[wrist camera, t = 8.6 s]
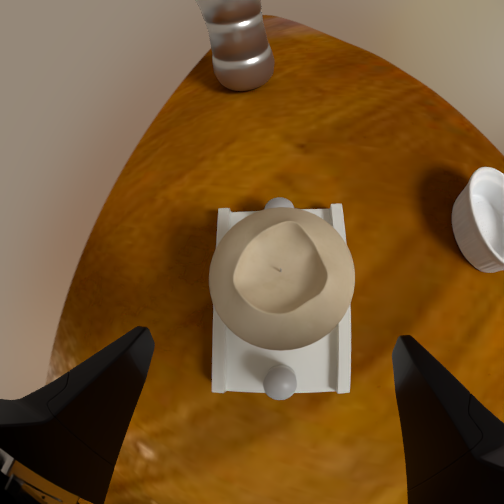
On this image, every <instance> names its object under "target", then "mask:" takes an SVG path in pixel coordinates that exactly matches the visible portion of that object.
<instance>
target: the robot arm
mask: <svg viewBox="0 0 504 504" xmlns="http://www.w3.org/2000/svg"><path fill="white" fill-rule="evenodd" d="M154 346H155V345H154V341H153V338H152V336H151V333H150V331H149V329H148V328H147V327H142V326H137V327H135V328H134V329H132V330H131V331H129V332H128V333H126V334H125V335H123V336H122V337H120V338H119V339H117V340H116V341H114V342H113V343H111V344H110V345H108V346H107V347H105V348H104V349H102V350H100V351H99V352H97V353H96V354H94V355H93V356H91V357H90V358H88V359H87V360H85V361H84V362H82V363H81V364H79V365H78V366H76V367H75V368H73V369H72V370H70V372H67V373H65V374H64V375H62V376H61V377H59V378H58V379H56V380H54V381H53V382H51V383H49V384H48V385H46V386H44V387H42V388H40V389H39V390H36V391H35V392H33V393H31V394H29V395H27V396H25V397H23V398H21V399H17V400H4V399H0V504H79V503H78V500H79V498H82V499H84V500H87V501H89V502H91V503H93V504H104V501H105V497H106V494H107V491H108V487H109V484H110V481H111V478H112V474H113V471H114V468H115V464H116V461H117V458H118V455H119V452H120V449H121V446H122V443H123V440H124V438H125V435H126V432H127V429H128V426H129V423H130V421H131V418H132V415H133V412H134V410H135V407H136V404H137V402H138V399H139V396H140V394H141V391H142V388H143V386H144V383H145V380H146V377H147V373H148V369H149V366H150V362H151V358H152V355H153V351H154ZM392 360H393V370H394V381H395V392H396V399H397V405H398V410H399V416H400V423H401V429H402V437H403V444H404V453H405V463H406V475H407V490H408V492H407V494H408V504H504V423H503V422H502V421H500V420H499V419H498V418H497V417H496V416H494V415H493V414H492V413H491V412H490V411H489V410H488V409H487V408H485V407H484V406H483V405H482V404H481V403H480V402H479V401H478V400H477V399H476V398H475V397H474V396H473V395H472V394H470V392H469V391H468V390H467V389H466V388H465V387H464V386H463V385H462V384H461V383H460V382H459V381H458V380H457V379H456V378H455V377H454V376H453V375H452V374H451V373H450V372H449V371H448V370H447V369H446V368H445V367H444V366H443V365H442V364H441V363H440V362H439V361H438V360H436V359H435V358H434V357H433V356H432V355H431V354H430V353H429V352H428V351H427V350H426V349H425V348H424V347H423V346H422V345H420V344H419V343H418V342H417V341H416V340H415V339H414V338H413V337H412V336H410V335H402V336H399V337H398V339H397V342H396V345H395V347H394V350H393V353H392Z"/></svg>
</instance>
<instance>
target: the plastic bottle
mask: <svg viewBox="0 0 504 504" xmlns="http://www.w3.org/2000/svg"><path fill="white" fill-rule="evenodd" d="M196 2H197V4H198V6H199V8H200V10H201V13H202V16H203V18H204V20H205V21H206V26H207V29H208V32H209V37H210V43H211V48H212V53H213V55H212V58H213V69H214V73H215V75H216V77H217V79H218V80H219V82H220V83H221V84H222V85H223V86H225V87H226V88H228V89H230V90H234V91H247V90H252V89H255V88H258V87H260V86H262V85H264V84H265V83H266V82H267V81H268V80H269V79H270V77H271V76H272V74H273V71H274V57H273V54H272V50H271V48H270V46H269V44H268V40H267V36H266V32H265V28H264V24H263V20H262V12H261V0H196Z"/></svg>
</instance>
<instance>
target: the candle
mask: <svg viewBox="0 0 504 504" xmlns="http://www.w3.org/2000/svg"><path fill="white" fill-rule="evenodd" d="M354 285H355V271H354V264H353V260H352V257H351V254H350V251H349V249H348V247H347V245H346V243H345V241H344V240H343V238H342V237H341V236H340V234H339V233H338V232H337V231H336V230H335V229H334V228H333V227H332V226H331V225H330V224H329V223H328V222H326V221H325V220H324V219H322V218H320V217H319V216H317V215H315V214H312V213H310V212H308V211H304V210H301V209H296V208H290V207H277V208H269V209H264V210H261V211H258V212H255V213H253V214H251V215H249V216H247V217H245V218H243V219H242V220H240V221H239V222H238V223H236V224H235V225H234V226H233V227H232V228H231V229H230V230H229V231H228V232H227V233H226V234H225V235H224V237H223V238H222V239H221V241H220V242H219V244H218V246H217V248H216V250H215V252H214V255H213V257H212V261H211V265H210V271H209V289H210V295H211V299H212V302H213V305H214V307H215V309H216V312H217V313H218V315H219V317H220V318H221V320H222V321H223V323H224V324H225V325H226V326H227V327H228V328H229V329H230V330H231V331H232V332H233V333H234V334H235V335H236V336H238V337H239V338H241V339H242V340H244V341H246V342H248V343H249V344H251V345H254V346H257V347H260V348H264V349H268V350H278V351H284V350H293V349H298V348H302V347H305V346H308V345H311V344H313V343H315V342H317V341H318V340H320V339H322V338H323V337H324V336H326V335H327V334H329V333H330V332H331V331H332V330H333V329H334V328H335V327H336V326H337V325H338V323H339V322H340V321H341V320H342V318H343V316H344V315H345V313H346V312H347V309H348V307H349V305H350V303H351V299H352V296H353V292H354Z"/></svg>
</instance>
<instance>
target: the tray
mask: <svg viewBox="0 0 504 504" xmlns="http://www.w3.org/2000/svg"><path fill="white" fill-rule="evenodd" d="M277 207H290V208H294V206H293V204H292V203H291V202H290V201H289V200H287V199H285V198H280V197H279V198H274V199H272V200H270V201H269V202H268V203H267V204H266V206H265V209H269V208H277ZM301 210H304V211H308V212H310V213H312V214H315V215H317V216H319V217H320V218H322V219H324V220H325V221H326V222H328V223H329V224H330V225H331V226H332V227H333V228H334V229H335V230H336V231H337V232H338V233H339V234H340V236H341V237H342V238H343V240H344V241H345V243H346V235H345V226H344V217H343V209H342V204H331V206H330V209H301ZM255 212H258V211H249V212H231V211H230V209H229V208H219V209H218V223H217V239H216V248H217V246H218V244H219V242H220V241H221V239H222V238H223V237H224V235H225V234H226V233H227V232H228V231H229V230H230V229H231V228H232V227H233V226H234V225H235V224H236V223H238V222H239V221H240V220H242V219H243V218H245V217H247V216H249V215H251V214H253V213H255ZM350 374H351V310H350V305H349V307H348V309H347V312H346V313H345V315H344V316H343V318H342V320H341V321H340V322H339V323H338V325H337V326H336V327H335V328H334V329H333V330H332V331H331V332H330V333H329V334H327V335H326V336H324V337H323V338H322V339H320V340H318V341H317V342H315V343H313V344H311V345H308V346H305V347H302V348H298V349H293V350H284V351H278V350H268V349H264V348H260V347H257V346H254V345H251V344H249V343H248V342H246V341H244V340H242V339H241V338H239V337H238V336H236V335H235V334H234V333H233V332H232V331H231V330H230V329H229V328H228V327H227V326H226V325H225V324H224V323H223V321H222V320H221V318H220V317H219V315H218V313H217V312H216V309H215V307H214V305H213V339H212V392H218V393H224V392H225V391H239V392H261V393H266V394H267V395H268V396H269V397H271V398H273V399H276V400H284V399H287V398H289V397H290V396H292V395H293V393H306V392H328V391H336V392H337V393H349V392H350Z"/></svg>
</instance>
